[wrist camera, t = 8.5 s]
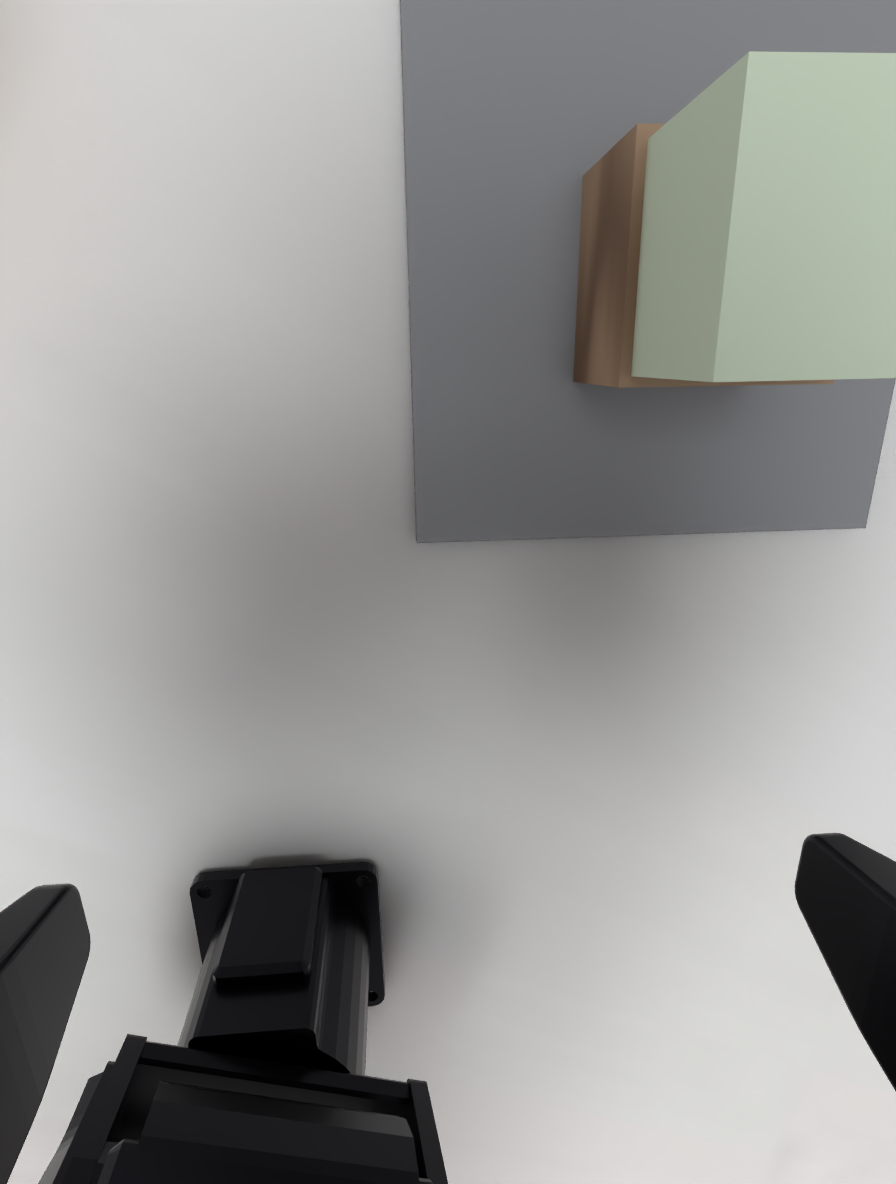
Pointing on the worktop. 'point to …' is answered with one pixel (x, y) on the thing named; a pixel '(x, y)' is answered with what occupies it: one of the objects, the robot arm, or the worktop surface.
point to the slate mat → (550, 281)
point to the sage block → (773, 225)
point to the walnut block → (617, 270)
